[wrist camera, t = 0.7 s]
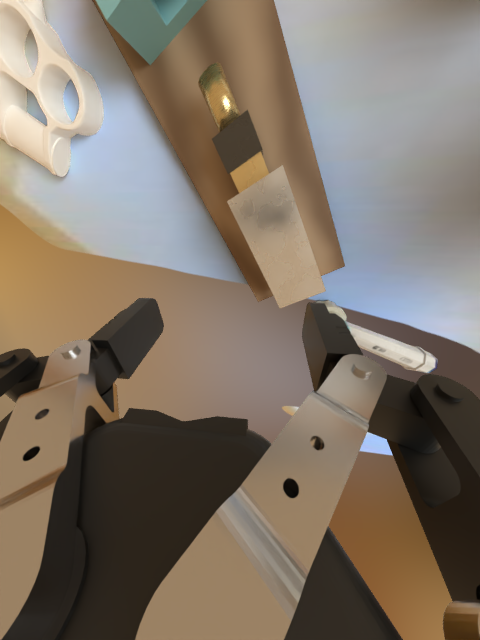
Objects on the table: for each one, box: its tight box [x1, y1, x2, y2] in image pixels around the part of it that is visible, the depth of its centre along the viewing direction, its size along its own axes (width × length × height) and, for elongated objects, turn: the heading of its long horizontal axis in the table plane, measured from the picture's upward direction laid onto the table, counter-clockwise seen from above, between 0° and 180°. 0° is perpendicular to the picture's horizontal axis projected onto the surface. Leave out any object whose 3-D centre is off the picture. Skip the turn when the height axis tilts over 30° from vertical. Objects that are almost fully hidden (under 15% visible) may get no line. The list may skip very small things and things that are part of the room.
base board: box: [93, 0, 345, 302], centre depth 23 cm, size 14×36×2 cm, turn 29°
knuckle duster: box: [0, 0, 104, 177], centre depth 21 cm, size 3×18×15 cm
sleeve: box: [227, 165, 326, 308], centre depth 25 cm, size 6×14×6 cm, turn 29°
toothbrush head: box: [314, 300, 438, 373], centre depth 34 cm, size 5×7×25 cm
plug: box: [198, 63, 269, 193], centre depth 22 cm, size 4×22×4 cm, turn 29°
